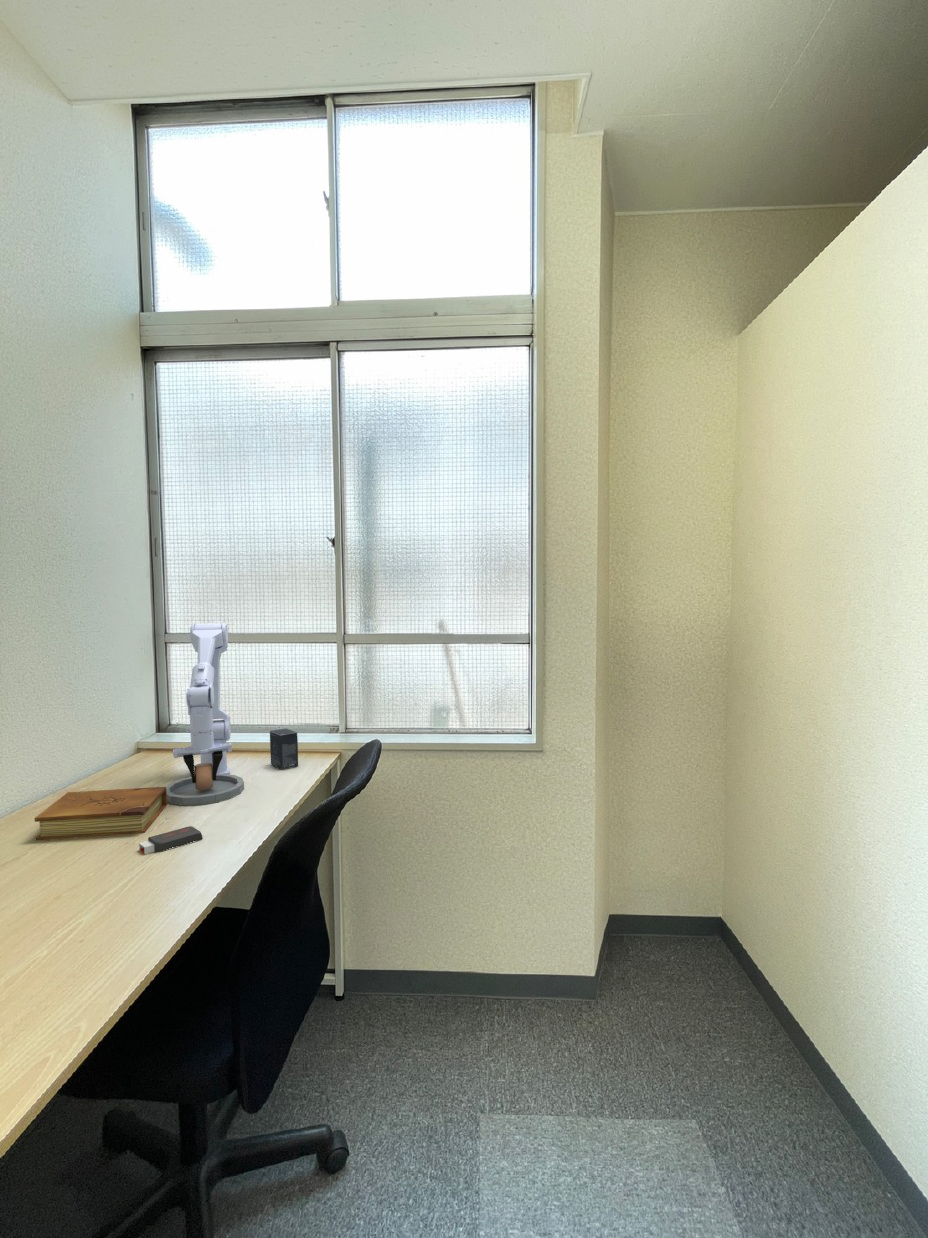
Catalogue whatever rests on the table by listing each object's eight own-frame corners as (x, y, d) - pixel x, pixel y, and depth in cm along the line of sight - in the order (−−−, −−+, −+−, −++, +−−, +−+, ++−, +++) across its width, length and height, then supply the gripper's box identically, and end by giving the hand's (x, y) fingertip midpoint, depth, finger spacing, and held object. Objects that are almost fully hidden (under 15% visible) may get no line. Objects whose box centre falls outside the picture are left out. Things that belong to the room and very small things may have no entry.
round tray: (163, 787, 190) (162, 780, 190) (238, 777, 198) (238, 770, 198) (164, 810, 172) (164, 802, 172) (248, 797, 180) (247, 790, 180)
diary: (167, 807, 175) (166, 785, 175) (144, 835, 157) (143, 811, 157) (70, 813, 172) (69, 790, 172) (35, 842, 153) (34, 816, 153)
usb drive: (202, 841, 153) (202, 829, 152) (146, 857, 144) (146, 845, 144) (193, 835, 156) (192, 823, 156) (137, 850, 148) (137, 838, 148)
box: (298, 766, 208) (297, 732, 207) (281, 770, 205) (280, 735, 204) (287, 761, 214) (286, 727, 213) (270, 764, 211) (269, 730, 210)
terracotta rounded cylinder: (194, 786, 186) (193, 764, 185) (212, 783, 188) (211, 762, 187) (195, 790, 182) (194, 768, 181) (214, 788, 184) (213, 766, 183)
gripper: (172, 737, 177) (175, 788, 178) (232, 730, 183) (234, 780, 184) (171, 731, 183) (174, 781, 184) (229, 725, 189) (231, 773, 190)
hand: (204, 780), depth 185 cm, fingers closed on terracotta rounded cylinder, 4 cm apart
